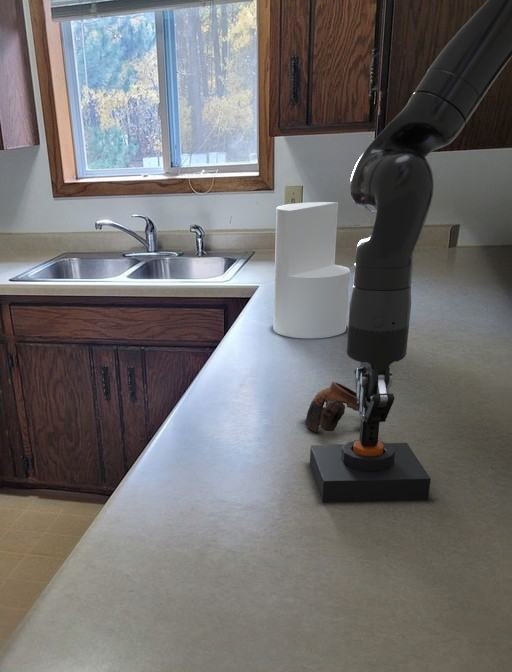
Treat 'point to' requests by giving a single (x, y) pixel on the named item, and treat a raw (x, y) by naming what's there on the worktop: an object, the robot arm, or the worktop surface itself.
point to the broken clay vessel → (330, 407)
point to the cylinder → (309, 272)
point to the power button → (368, 449)
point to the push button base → (368, 474)
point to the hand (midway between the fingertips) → (368, 444)
